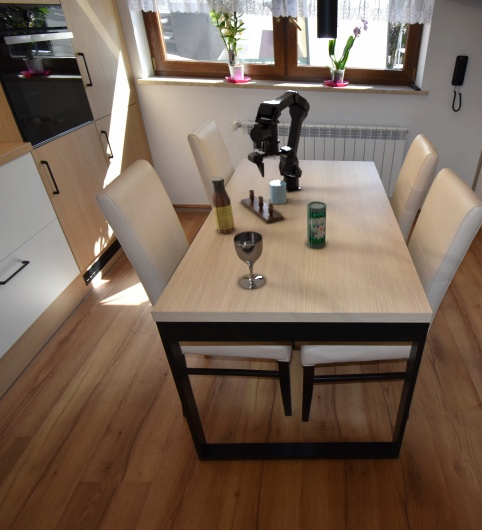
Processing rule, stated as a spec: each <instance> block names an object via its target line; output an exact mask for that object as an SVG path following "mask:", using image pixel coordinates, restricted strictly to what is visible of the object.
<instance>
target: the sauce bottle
mask: <svg viewBox="0 0 482 530" xmlns="http://www.w3.org/2000/svg"><path fill="white" fill-rule="evenodd" d="M211 184H212V186H213V187H212V188H213V195H212V197H211V200H212V207H213V213H214V219H215V224H216V228H217V231H218V232H219V233H220V234H231V233H232V232H234V231H235V221H234V213H233V208H232V201H231V198H230V196H229V194H228V191H227V189H226V188H225V179H224V177H222V176H215V177H214V176H213V177H212V178H211Z"/></svg>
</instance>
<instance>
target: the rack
mask: <svg viewBox="0 0 482 530" xmlns="http://www.w3.org/2000/svg"><path fill="white" fill-rule="evenodd" d="M248 196H249V197H247V198H243V199H240V203H241V204H242V205H243V206H244V207H246V208H247V209H248V210H250V211H251V212H252V213H253V214H255V215H256V216H257V217H258V218H260V219H261V220H262V221H264V222H265V224H271V223H275V222H278V221H282V220H284V215H283V214H282V213H280V212H279V211H278V210H276V209H275V208H274V203H272V202H268V203H266V202H264V197H263V196H262V195H259V196H255V191H254V189H252V188H250V189H249V190H248Z"/></svg>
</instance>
